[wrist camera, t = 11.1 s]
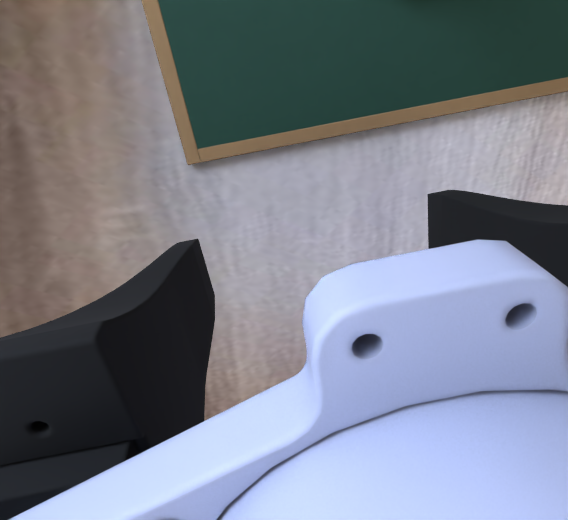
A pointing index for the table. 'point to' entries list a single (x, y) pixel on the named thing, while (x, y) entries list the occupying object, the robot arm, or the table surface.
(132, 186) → the table surface
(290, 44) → the desk mat
